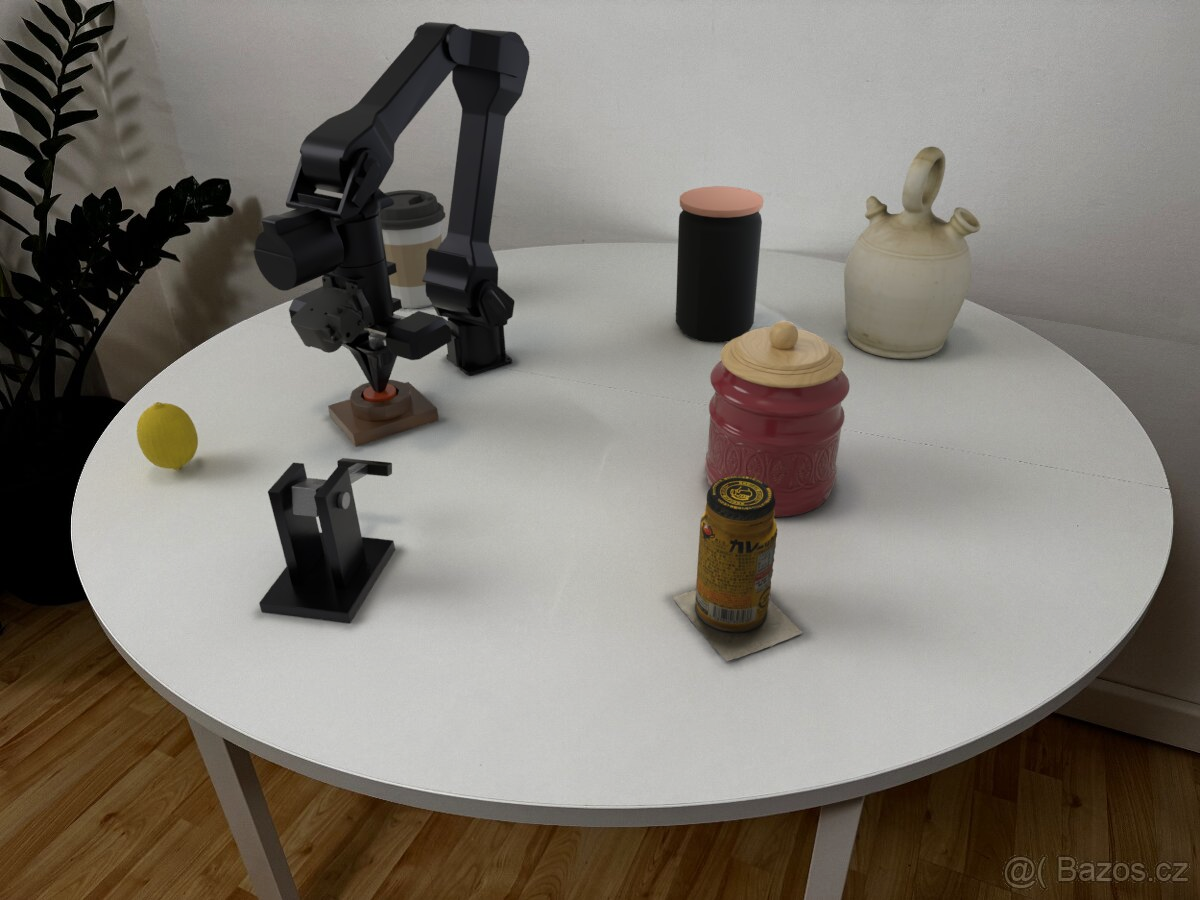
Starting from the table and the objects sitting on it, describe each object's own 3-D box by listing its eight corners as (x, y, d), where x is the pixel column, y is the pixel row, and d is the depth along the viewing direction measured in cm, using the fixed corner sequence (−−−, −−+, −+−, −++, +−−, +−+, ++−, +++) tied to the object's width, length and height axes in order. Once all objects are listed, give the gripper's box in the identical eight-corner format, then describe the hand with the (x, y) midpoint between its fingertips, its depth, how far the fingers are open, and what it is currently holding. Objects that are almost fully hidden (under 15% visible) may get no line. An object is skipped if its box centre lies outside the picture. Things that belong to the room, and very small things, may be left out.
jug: (981, 345, 117) (1026, 149, 104) (902, 377, 110) (940, 171, 97) (888, 307, 128) (919, 126, 115) (811, 334, 121) (834, 144, 107)
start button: (390, 393, 104) (388, 380, 103) (402, 406, 101) (400, 392, 100) (360, 402, 102) (358, 389, 101) (373, 415, 100) (370, 401, 99)
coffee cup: (448, 314, 128) (436, 211, 120) (369, 314, 128) (352, 211, 121) (459, 284, 138) (449, 187, 130) (386, 285, 138) (371, 188, 130)
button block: (410, 394, 108) (406, 368, 106) (439, 421, 102) (435, 394, 101) (330, 418, 103) (324, 391, 102) (355, 448, 98) (350, 420, 96)
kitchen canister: (823, 531, 84) (848, 362, 74) (689, 505, 88) (697, 341, 78) (841, 460, 94) (866, 304, 85) (721, 439, 98) (731, 288, 89)
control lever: (342, 475, 85) (342, 451, 84) (392, 480, 84) (392, 455, 84) (276, 513, 74) (275, 485, 73) (333, 519, 73) (332, 490, 72)
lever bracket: (315, 541, 84) (292, 443, 78) (395, 550, 82) (378, 451, 77) (261, 613, 75) (231, 509, 70) (350, 624, 74) (327, 520, 68)
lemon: (186, 486, 92) (165, 419, 88) (138, 480, 93) (115, 414, 89) (216, 457, 96) (197, 392, 92) (170, 452, 97) (149, 388, 93)
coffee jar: (765, 322, 124) (777, 193, 115) (732, 351, 117) (742, 215, 107) (697, 307, 129) (702, 181, 120) (661, 333, 122) (664, 202, 112)
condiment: (743, 574, 79) (754, 459, 72) (802, 634, 72) (819, 515, 66) (671, 599, 76) (676, 483, 70) (726, 664, 70) (736, 542, 63)
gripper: (234, 266, 91) (267, 400, 99) (368, 302, 83) (392, 445, 91) (316, 235, 99) (340, 361, 107) (446, 264, 91) (461, 399, 99)
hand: (380, 390), depth 101 cm, fingers closed, pressing on start button
